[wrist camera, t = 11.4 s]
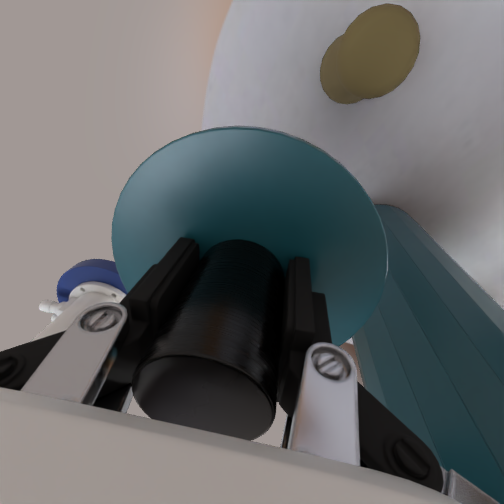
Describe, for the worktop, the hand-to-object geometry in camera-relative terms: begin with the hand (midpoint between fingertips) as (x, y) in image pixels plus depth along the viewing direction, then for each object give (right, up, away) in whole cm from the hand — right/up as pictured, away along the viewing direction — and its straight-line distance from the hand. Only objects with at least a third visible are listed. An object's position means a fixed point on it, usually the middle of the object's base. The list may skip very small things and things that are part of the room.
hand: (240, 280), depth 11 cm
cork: (+10, +19, +15) cm, 27 cm away
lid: (0, 0, +1) cm, 1 cm away
